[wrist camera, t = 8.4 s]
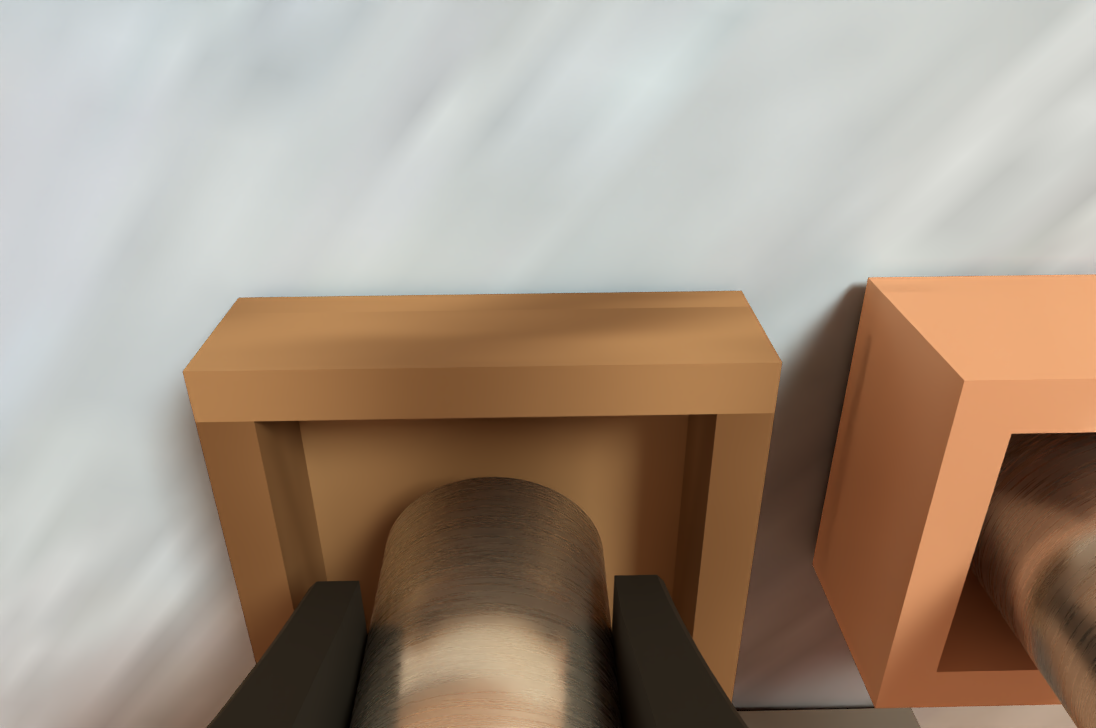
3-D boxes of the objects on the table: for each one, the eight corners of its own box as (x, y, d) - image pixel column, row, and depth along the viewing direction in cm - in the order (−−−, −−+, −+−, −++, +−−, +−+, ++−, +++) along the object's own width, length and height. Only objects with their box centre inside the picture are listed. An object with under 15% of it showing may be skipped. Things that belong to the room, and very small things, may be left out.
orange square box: (1239, 272, 13) (1440, 373, 10) (1117, 558, 16) (1247, 700, 13) (868, 277, 13) (964, 380, 10) (812, 564, 16) (874, 708, 13)
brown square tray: (741, 290, 13) (781, 362, 11) (701, 633, 17) (726, 736, 15) (238, 297, 13) (182, 371, 11) (308, 641, 17) (276, 745, 15)
